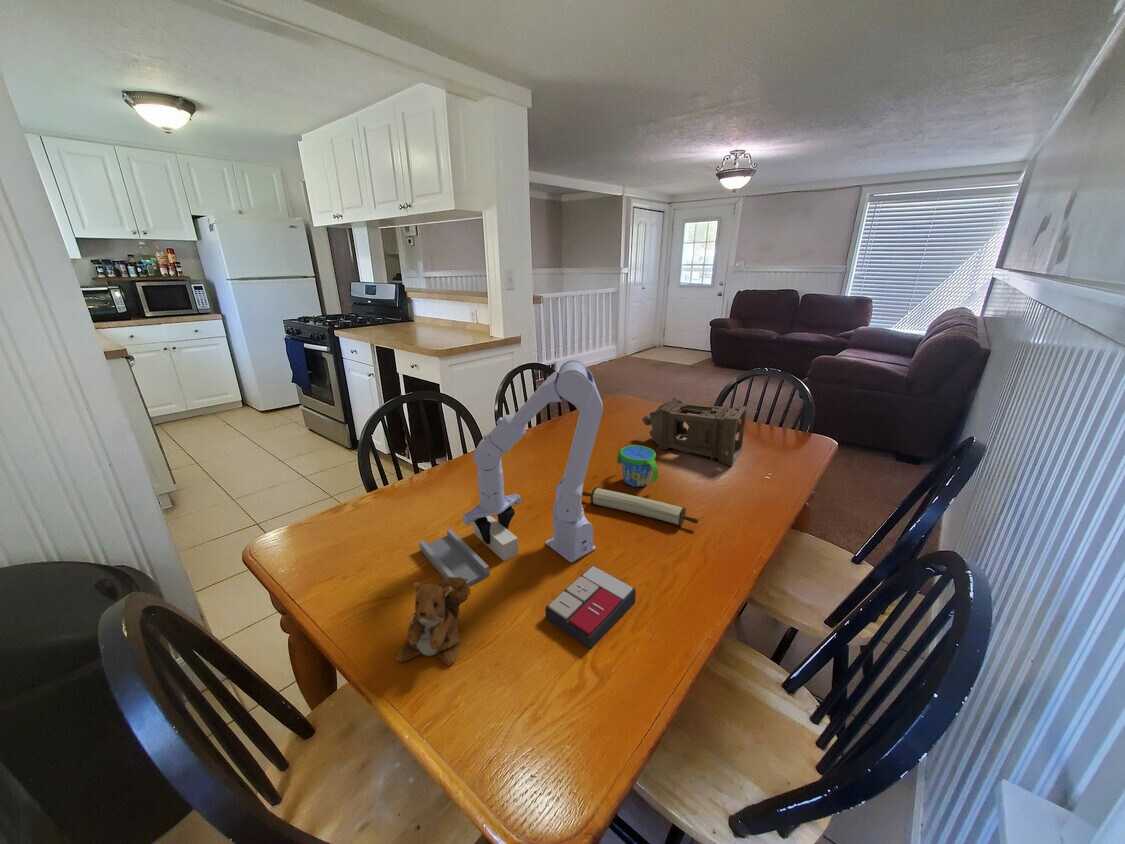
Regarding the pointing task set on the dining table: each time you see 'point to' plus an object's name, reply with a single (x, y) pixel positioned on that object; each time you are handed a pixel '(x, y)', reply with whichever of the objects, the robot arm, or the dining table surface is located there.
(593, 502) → the rolling pin
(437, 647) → the stuffed squirrel
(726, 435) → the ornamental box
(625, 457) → the snack cup
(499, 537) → the white rectangular block
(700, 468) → the dining table surface
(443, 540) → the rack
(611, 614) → the calculator
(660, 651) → the dining table surface
